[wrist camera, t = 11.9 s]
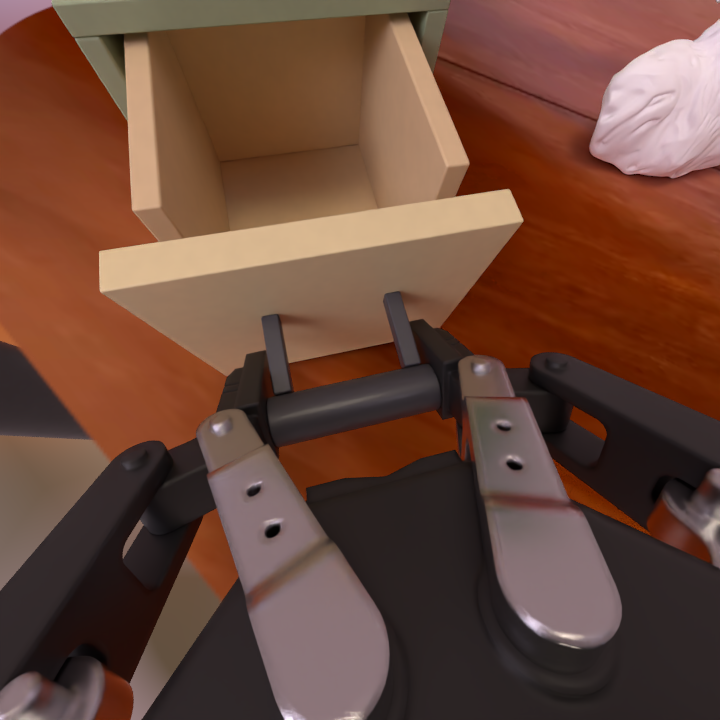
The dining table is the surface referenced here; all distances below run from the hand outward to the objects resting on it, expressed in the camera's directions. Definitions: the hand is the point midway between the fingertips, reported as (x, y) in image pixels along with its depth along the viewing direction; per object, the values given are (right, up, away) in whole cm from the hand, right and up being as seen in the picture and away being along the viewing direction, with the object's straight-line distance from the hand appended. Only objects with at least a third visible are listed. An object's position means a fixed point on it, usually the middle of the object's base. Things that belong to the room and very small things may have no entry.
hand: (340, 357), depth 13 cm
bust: (+22, +16, +11) cm, 29 cm away
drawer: (-2, +4, +5) cm, 7 cm away
